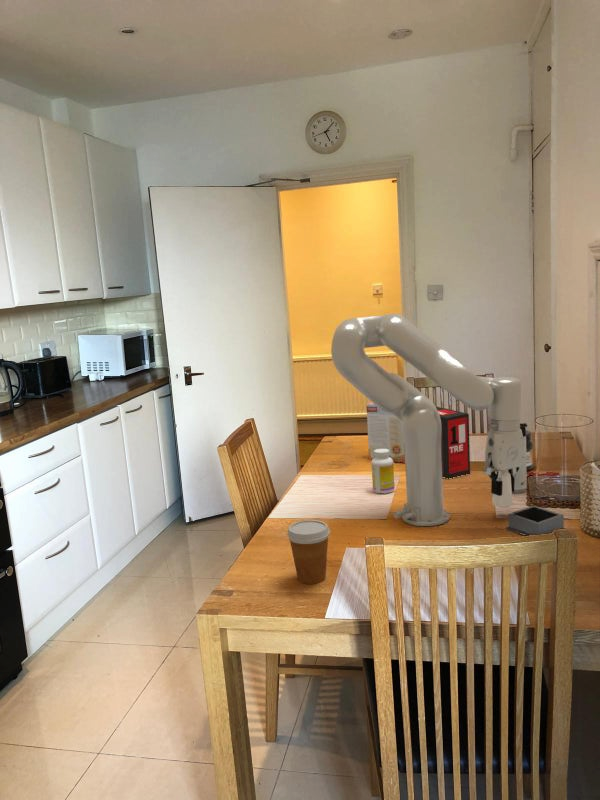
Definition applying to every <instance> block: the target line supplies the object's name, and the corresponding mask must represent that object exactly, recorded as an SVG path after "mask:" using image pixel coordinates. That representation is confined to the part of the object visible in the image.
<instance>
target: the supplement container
mask: <svg viewBox="0 0 600 800" xmlns="http://www.w3.org/2000/svg"><path fill="white" fill-rule="evenodd" d="M533 446H534V442H533V440H532V432H531V431H529V430H526V472H527V471H530V470H532V469H533V468H534V449H533Z"/></svg>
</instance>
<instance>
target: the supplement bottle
mask: <svg viewBox="0 0 600 800" xmlns="http://www.w3.org/2000/svg"><path fill="white" fill-rule="evenodd" d="M389 454H390V453H389V450H388V449H376V450H374V455H375V458H374V459H372V460H371V462H370V463H371V476H372V478H371V479H372V480H371V481H372V490H373V492H374V493H377V494H380V493H382V494H383V493H384V495H385V493H386V494H390V493H393V492H394V491H395V488H396V487H395V475H394V473H395V470H394V462H393V460H392V458H390V457H389Z"/></svg>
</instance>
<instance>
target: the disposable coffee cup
mask: <svg viewBox="0 0 600 800" xmlns="http://www.w3.org/2000/svg"><path fill="white" fill-rule="evenodd" d="M330 533H331V530H330V528H329V527H328V524H327V523H326V522H324V521H321V520H318V519H317V520H316V519H306V520H301V521H300V520H299V521H296V522H293V523H291V524H290V525H289V527H288V531H287V532H286V535H287V538H288V540H289V542H290V547H291V552H292V557H293V563H294V566H295V571H296V576H297V581H299V583H303V584H309V585H312V584H313V585H314V584H319V583H321V582H323V581H324V580H326V578H327V575H326V574H327V563H328V562H327V561H328V545H329V543H328V542H329V535H330Z"/></svg>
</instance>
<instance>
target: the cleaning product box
mask: <svg viewBox="0 0 600 800" xmlns="http://www.w3.org/2000/svg"><path fill="white" fill-rule="evenodd" d="M435 407H436V409H437V411H438V413H439V415H440V419H441V428H442V432H441V458H442V478H443V477H445V478H444V479H446V478H448V479H447V480H450V479H449V478H452V479H454V478H453V477H456V478H458V477H457V476H461V475H465V476H467V475H466V474H469V475H471V458H470V457H471V456H470V455H471V454H470V453H471V452H470V451H471V450H470V448H471V447H470V416H469V415H470V414H469V413H467V412H463V411H458V410H454V409H449V408H445V407H440V406H436V405H435ZM461 477H462V476H461Z"/></svg>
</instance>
